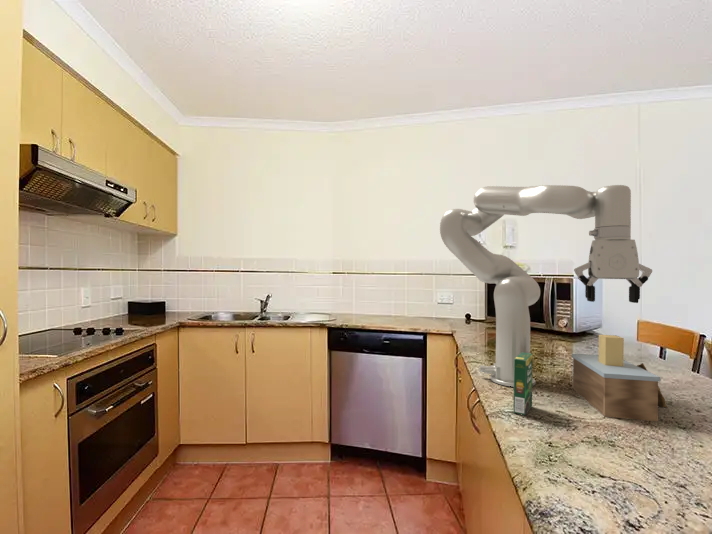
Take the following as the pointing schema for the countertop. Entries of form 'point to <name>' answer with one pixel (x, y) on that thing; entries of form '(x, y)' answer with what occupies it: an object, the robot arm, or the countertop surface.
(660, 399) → the rock
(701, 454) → the countertop surface
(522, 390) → the coffee box
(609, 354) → the lid
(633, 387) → the crate
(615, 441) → the countertop surface
